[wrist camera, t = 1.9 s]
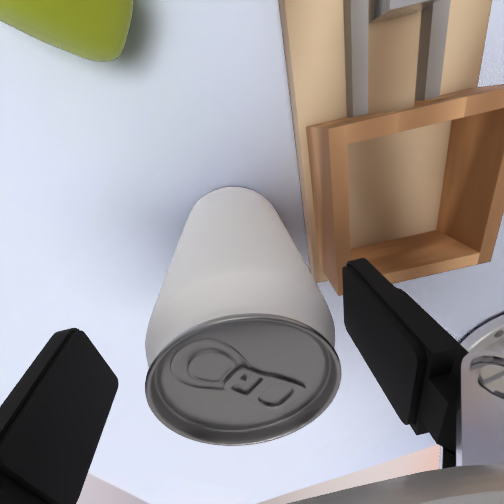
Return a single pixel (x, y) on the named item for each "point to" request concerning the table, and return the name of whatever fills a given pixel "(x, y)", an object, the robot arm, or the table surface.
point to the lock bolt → (394, 8)
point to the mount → (394, 137)
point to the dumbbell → (73, 24)
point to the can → (239, 329)
